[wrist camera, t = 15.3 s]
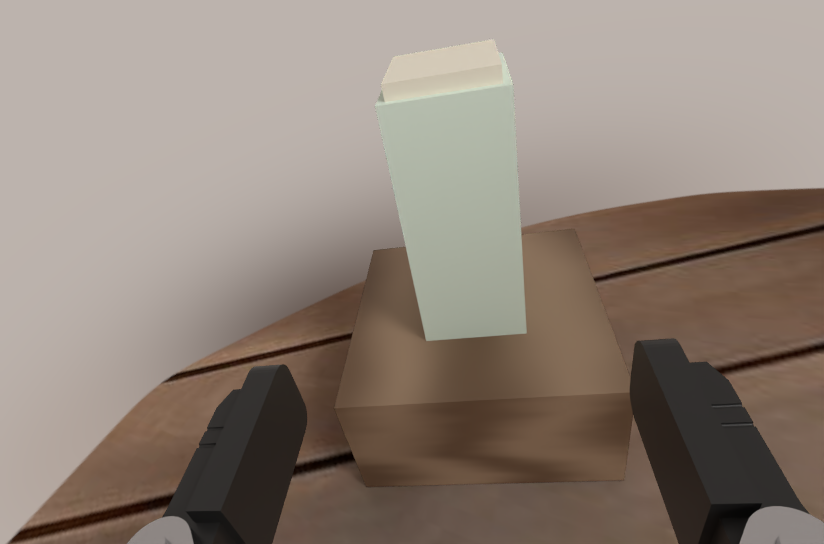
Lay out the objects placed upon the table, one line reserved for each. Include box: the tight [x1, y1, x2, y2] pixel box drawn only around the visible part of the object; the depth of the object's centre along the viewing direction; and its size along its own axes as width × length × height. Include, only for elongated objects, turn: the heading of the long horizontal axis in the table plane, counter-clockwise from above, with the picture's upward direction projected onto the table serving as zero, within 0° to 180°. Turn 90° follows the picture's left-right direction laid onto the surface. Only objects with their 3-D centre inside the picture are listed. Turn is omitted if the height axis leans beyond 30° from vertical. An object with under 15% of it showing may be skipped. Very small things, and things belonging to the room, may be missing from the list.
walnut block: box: [334, 229, 633, 487], centre depth 26 cm, size 12×12×6 cm
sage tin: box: [375, 39, 527, 341], centre depth 21 cm, size 5×5×12 cm
